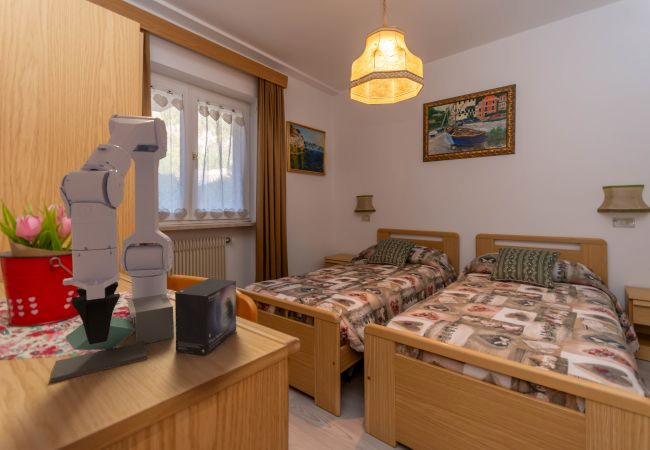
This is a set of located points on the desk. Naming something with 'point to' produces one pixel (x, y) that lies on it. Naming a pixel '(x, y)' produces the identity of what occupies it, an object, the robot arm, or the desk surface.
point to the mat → (97, 361)
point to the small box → (205, 315)
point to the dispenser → (152, 318)
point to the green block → (117, 333)
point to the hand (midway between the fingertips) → (98, 334)
